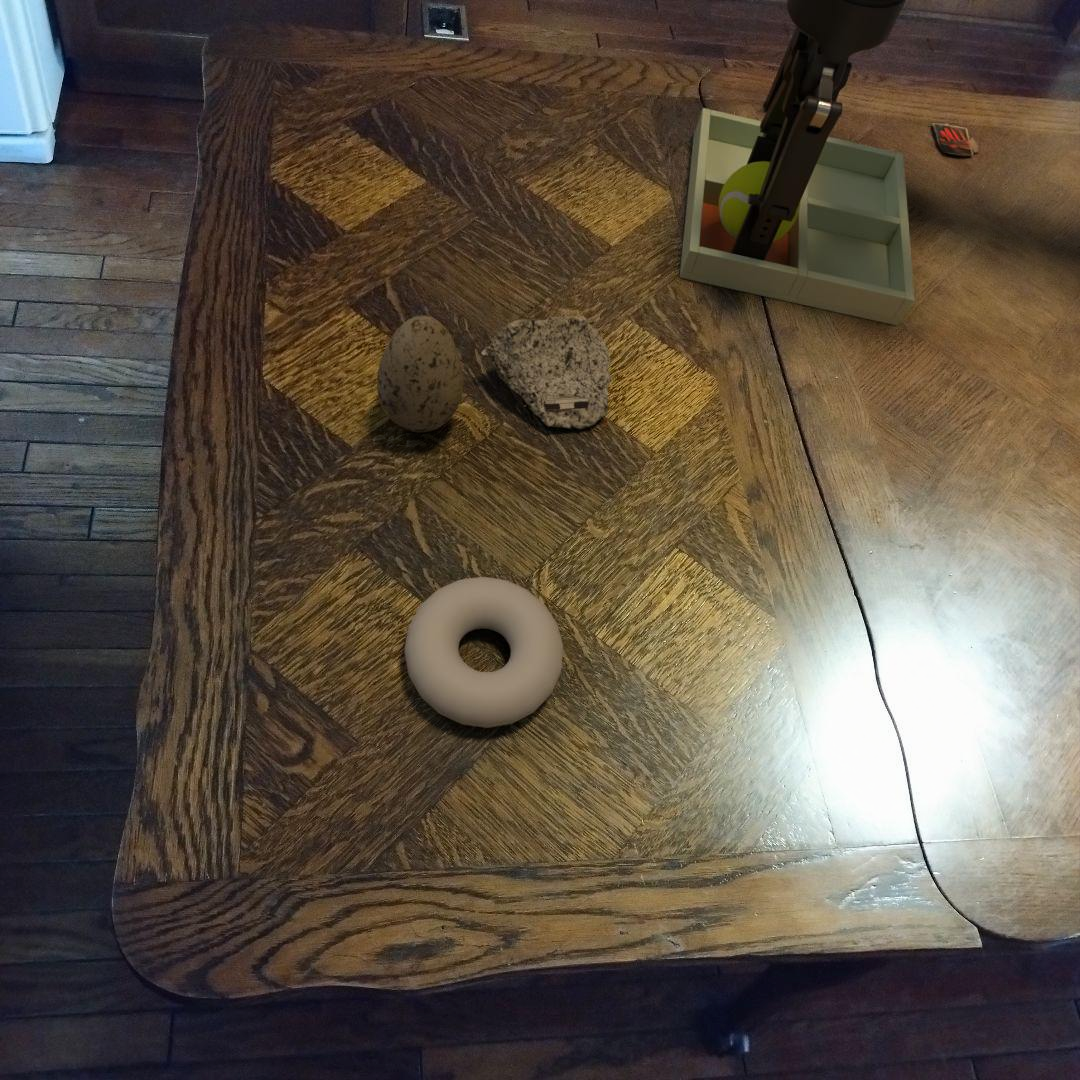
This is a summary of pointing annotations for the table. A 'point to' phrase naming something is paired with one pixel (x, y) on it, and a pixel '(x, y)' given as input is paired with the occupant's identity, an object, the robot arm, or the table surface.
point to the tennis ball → (745, 198)
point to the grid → (807, 227)
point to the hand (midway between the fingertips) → (746, 232)
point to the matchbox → (955, 140)
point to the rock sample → (555, 368)
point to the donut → (473, 691)
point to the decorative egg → (420, 376)
